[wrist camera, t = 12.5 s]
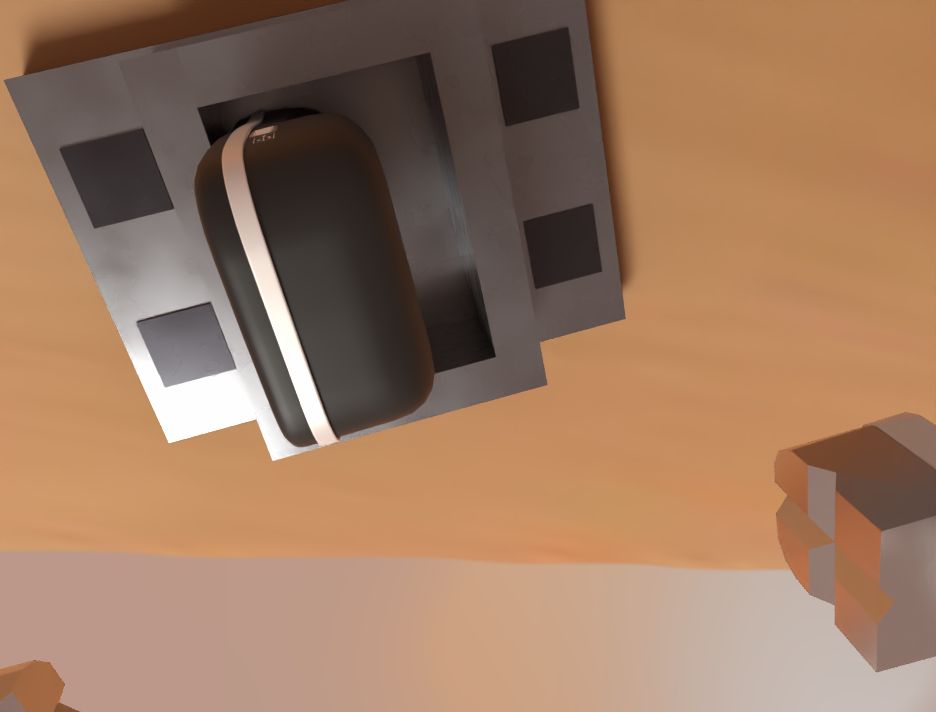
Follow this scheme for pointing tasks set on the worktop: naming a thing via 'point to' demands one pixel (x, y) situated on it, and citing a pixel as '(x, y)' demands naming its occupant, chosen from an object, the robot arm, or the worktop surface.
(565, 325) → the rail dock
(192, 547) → the worktop surface
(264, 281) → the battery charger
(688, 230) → the worktop surface
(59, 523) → the worktop surface
